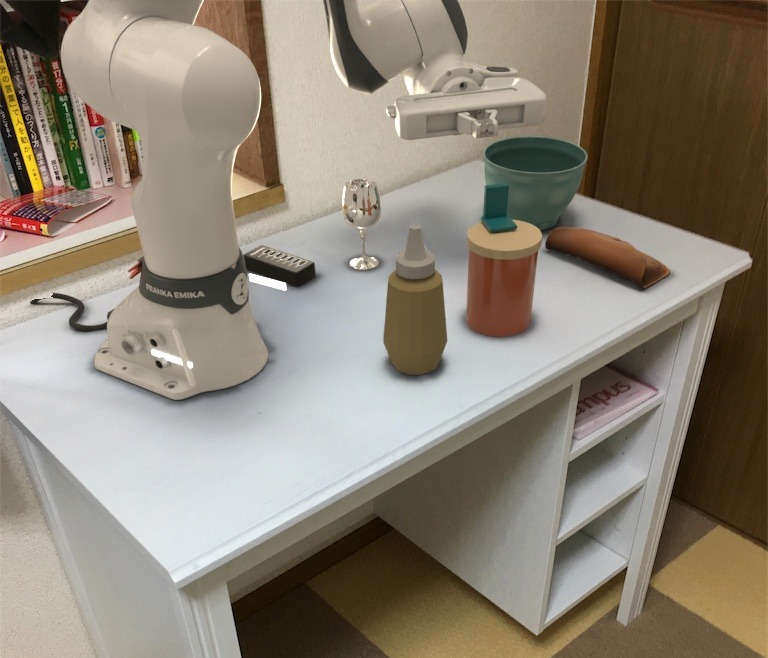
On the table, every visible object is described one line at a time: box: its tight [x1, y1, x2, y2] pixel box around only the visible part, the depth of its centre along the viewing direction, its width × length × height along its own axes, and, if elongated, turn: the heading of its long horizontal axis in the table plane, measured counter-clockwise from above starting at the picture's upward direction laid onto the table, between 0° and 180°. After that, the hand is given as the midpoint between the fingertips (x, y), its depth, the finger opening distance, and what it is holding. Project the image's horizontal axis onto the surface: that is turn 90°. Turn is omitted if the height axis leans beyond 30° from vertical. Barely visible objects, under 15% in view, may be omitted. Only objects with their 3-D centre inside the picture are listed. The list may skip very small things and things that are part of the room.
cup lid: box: [466, 219, 543, 260], centre depth 104 cm, size 9×9×1 cm
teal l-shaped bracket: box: [480, 183, 517, 232], centre depth 103 cm, size 4×4×4 cm
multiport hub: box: [243, 244, 317, 288], centre depth 123 cm, size 4×11×2 cm, turn 53°
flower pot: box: [482, 135, 588, 231], centre depth 131 cm, size 16×16×11 cm
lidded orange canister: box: [465, 247, 539, 338], centre depth 108 cm, size 9×9×11 cm
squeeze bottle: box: [383, 224, 448, 376], centre depth 98 cm, size 8×8×18 cm
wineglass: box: [341, 178, 382, 271], centre depth 121 cm, size 6×6×12 cm
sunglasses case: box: [544, 226, 671, 289], centre depth 122 cm, size 18×7×7 cm
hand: (487, 130), depth 103 cm, fingers closed
